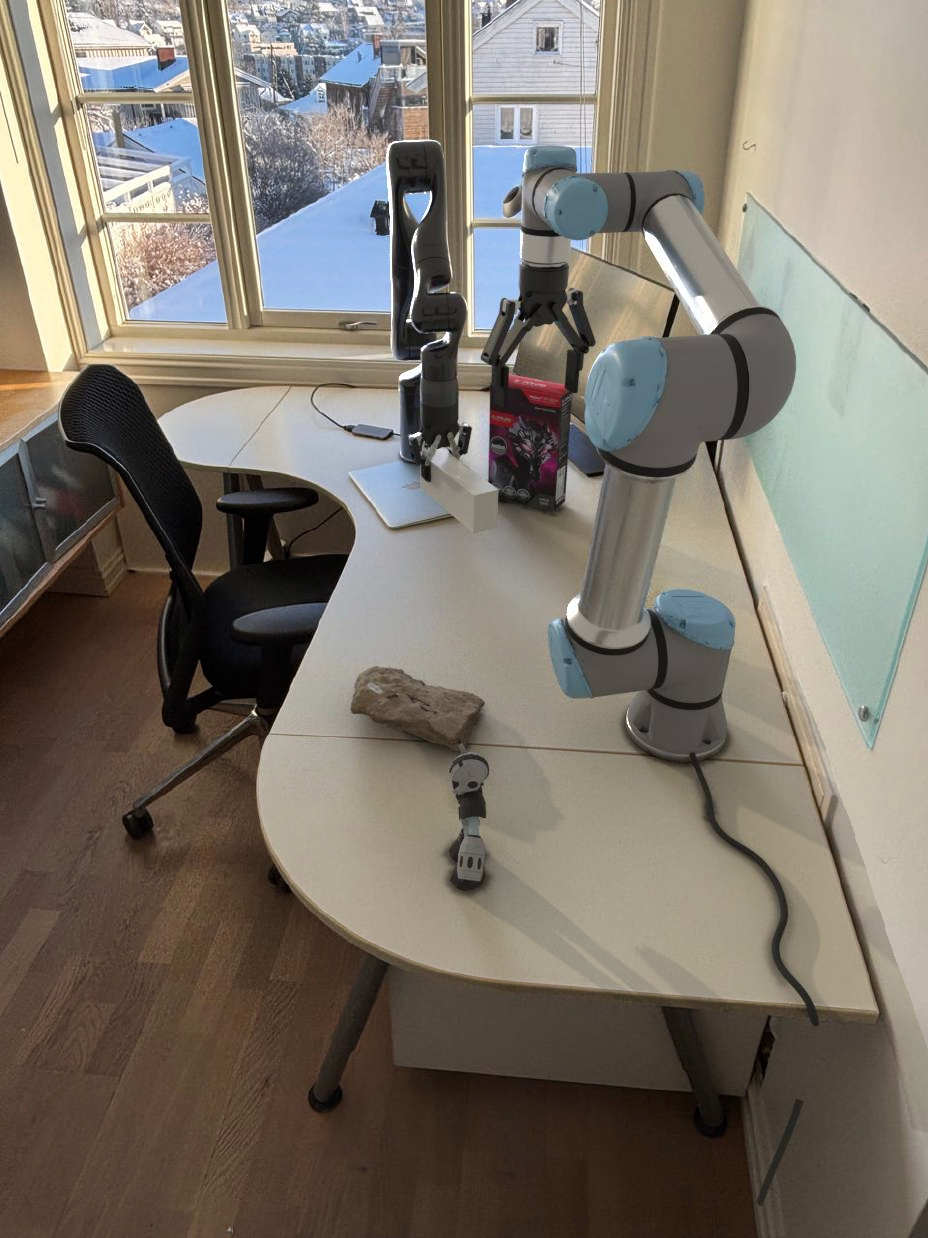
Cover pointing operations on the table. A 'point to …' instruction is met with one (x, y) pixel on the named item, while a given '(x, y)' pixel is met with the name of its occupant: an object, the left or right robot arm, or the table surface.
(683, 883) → the table surface
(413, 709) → the stone
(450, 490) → the bar
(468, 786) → the robot
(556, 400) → the graphics card box
